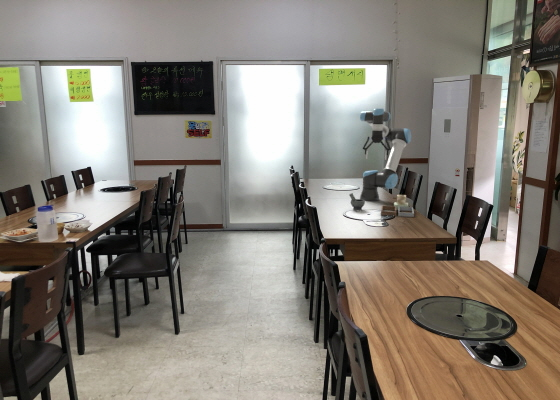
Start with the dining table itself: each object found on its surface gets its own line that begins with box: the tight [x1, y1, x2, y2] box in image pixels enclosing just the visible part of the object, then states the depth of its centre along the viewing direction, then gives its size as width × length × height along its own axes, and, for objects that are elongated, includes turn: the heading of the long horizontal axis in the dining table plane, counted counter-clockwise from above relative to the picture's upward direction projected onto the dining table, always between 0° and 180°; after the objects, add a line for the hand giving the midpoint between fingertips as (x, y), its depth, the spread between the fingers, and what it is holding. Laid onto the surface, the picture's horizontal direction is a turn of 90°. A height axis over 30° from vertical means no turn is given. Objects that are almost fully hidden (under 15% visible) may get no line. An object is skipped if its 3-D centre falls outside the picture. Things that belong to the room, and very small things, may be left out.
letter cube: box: [396, 194, 407, 205], centre depth 328 cm, size 6×6×6 cm
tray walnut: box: [380, 205, 397, 217], centre depth 316 cm, size 20×10×2 cm, turn 166°
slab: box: [393, 201, 410, 211], centre depth 329 cm, size 10×10×4 cm
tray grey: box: [397, 206, 415, 218], centre depth 313 cm, size 20×10×2 cm, turn 166°
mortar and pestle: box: [349, 192, 366, 211], centre depth 323 cm, size 11×9×12 cm
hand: (376, 159), depth 333 cm, fingers open, 13 cm apart
